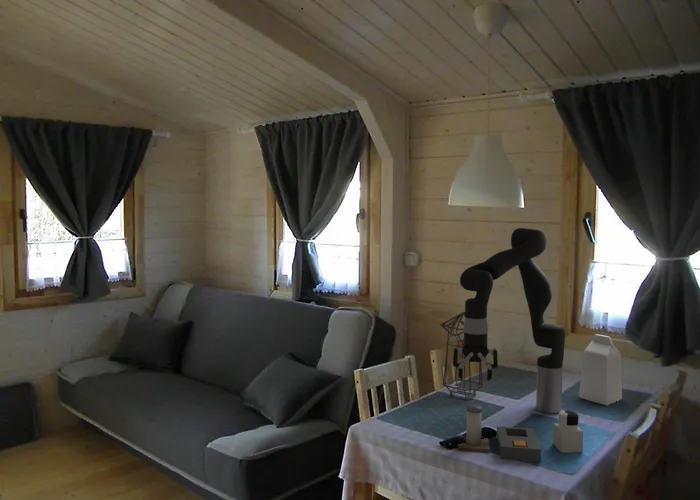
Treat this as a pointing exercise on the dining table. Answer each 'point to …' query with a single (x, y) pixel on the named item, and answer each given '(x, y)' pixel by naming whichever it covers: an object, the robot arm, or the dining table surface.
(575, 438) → the medicine bottle
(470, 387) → the geometric lantern
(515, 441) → the orange cardboard box
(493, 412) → the dining table surface
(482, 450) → the walnut pad
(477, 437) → the cylinder
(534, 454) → the block
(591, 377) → the milk
